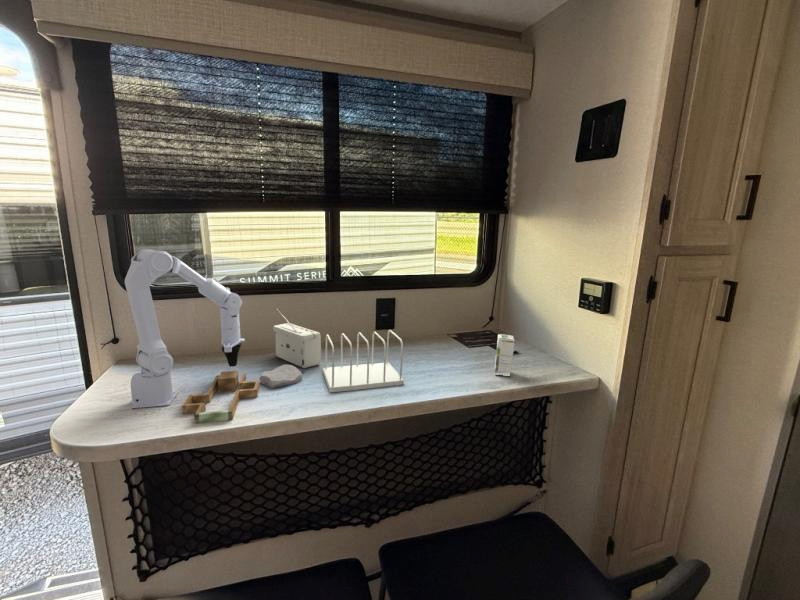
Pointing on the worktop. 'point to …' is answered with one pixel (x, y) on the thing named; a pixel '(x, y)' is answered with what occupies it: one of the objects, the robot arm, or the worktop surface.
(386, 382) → the file sorter
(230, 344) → the robot arm
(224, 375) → the walnut block
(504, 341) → the syrup box
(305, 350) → the stereo radio cassette player
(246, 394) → the trap lane
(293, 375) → the stone block
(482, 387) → the worktop surface
